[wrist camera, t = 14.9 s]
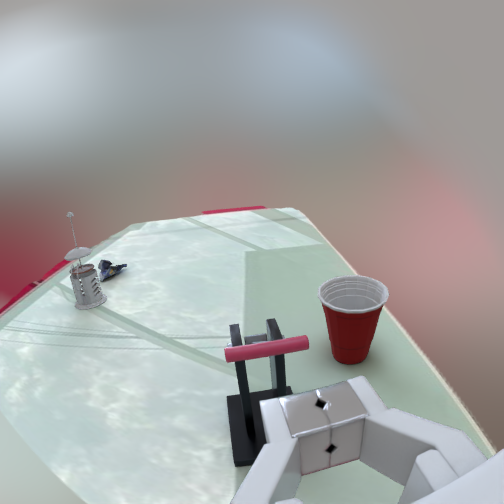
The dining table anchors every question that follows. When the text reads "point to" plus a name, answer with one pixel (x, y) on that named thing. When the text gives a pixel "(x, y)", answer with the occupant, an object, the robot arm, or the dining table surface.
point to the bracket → (253, 401)
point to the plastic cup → (352, 314)
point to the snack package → (108, 269)
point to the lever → (265, 347)
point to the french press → (84, 279)
